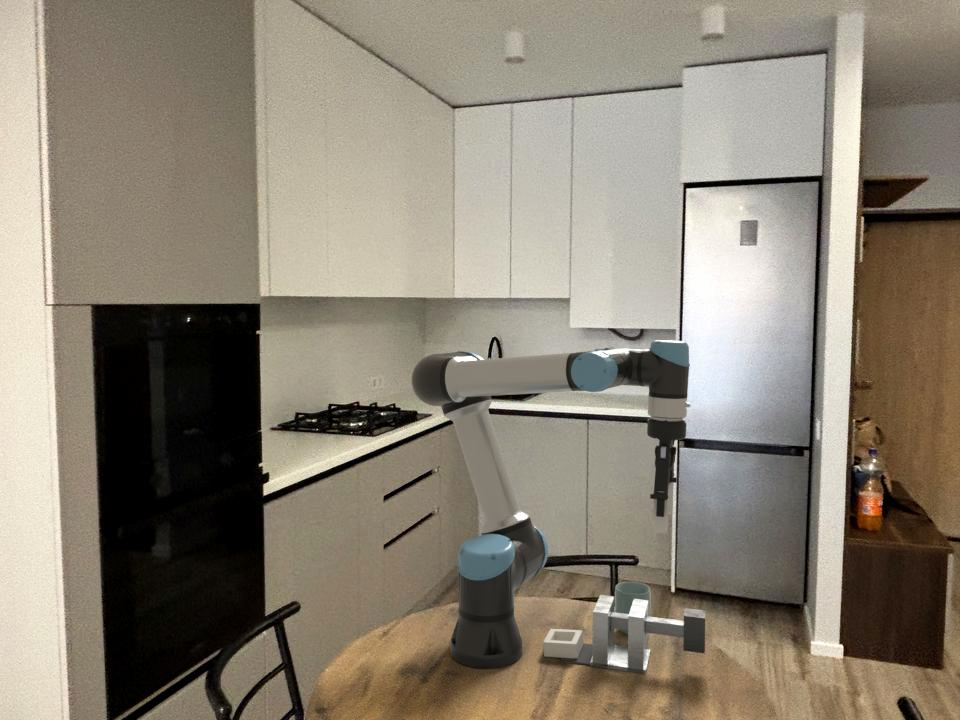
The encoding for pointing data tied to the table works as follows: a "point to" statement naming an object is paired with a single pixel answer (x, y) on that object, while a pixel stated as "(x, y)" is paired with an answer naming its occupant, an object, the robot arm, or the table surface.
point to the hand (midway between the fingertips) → (662, 522)
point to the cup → (630, 597)
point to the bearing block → (603, 638)
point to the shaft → (672, 627)
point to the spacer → (563, 643)
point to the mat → (582, 655)
